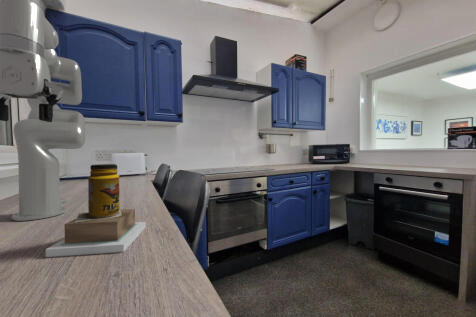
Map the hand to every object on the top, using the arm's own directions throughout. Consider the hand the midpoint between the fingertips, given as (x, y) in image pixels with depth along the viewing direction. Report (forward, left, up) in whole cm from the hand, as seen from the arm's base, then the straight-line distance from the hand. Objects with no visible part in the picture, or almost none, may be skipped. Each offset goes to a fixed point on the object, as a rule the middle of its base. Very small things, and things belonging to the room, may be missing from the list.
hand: (23, 120), depth 48 cm
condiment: (+6, +20, -23) cm, 31 cm away
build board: (+6, +21, -28) cm, 36 cm away
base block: (+6, +21, -27) cm, 34 cm away
